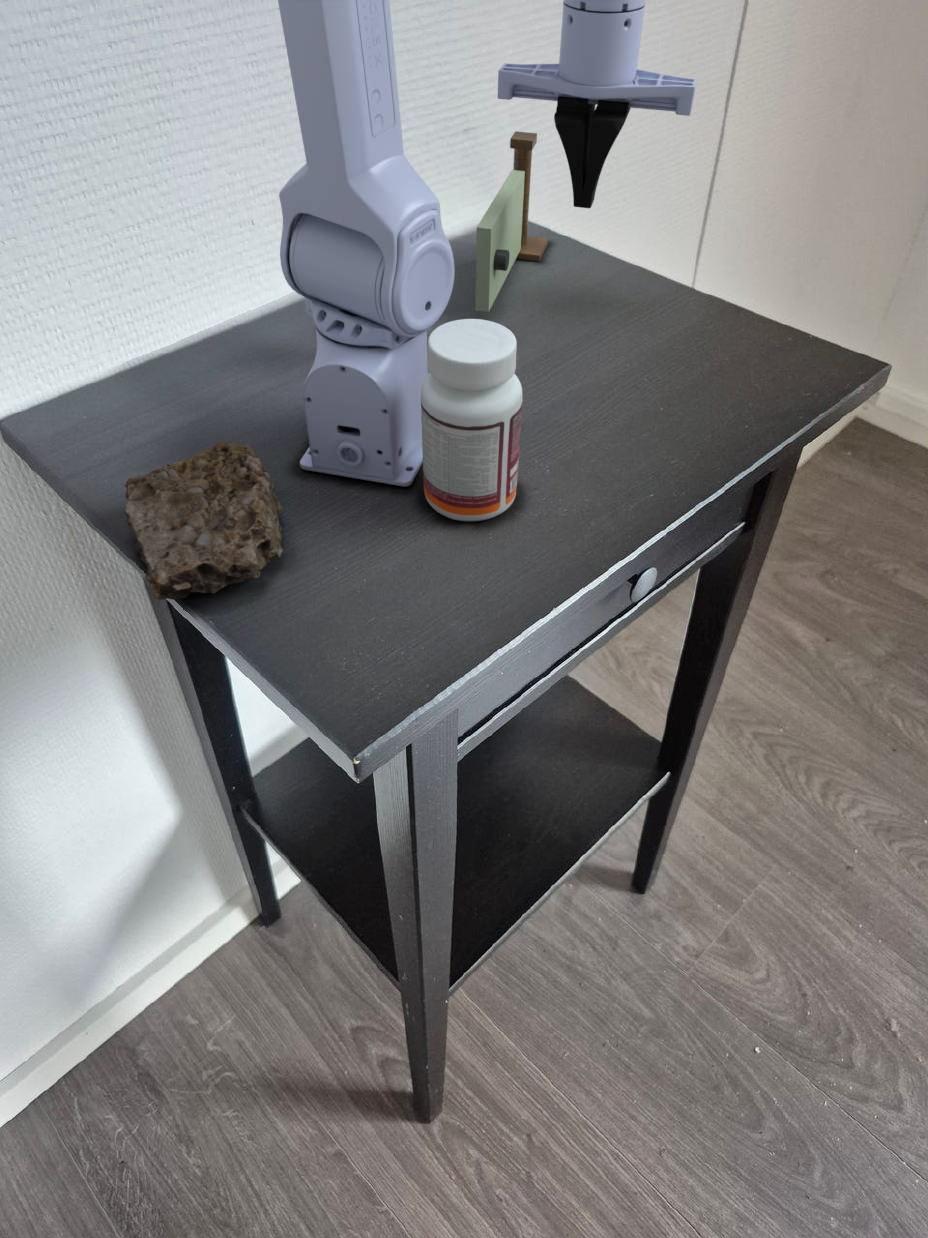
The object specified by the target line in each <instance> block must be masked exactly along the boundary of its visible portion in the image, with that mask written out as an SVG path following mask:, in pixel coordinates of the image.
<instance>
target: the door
mask: <svg viewBox="0 0 928 1238" xmlns="http://www.w3.org/2000/svg"><path fill="white" fill-rule="evenodd" d="M524 178H525V171H518V170H513V169H512V170H511V171H510V172H509V174H508V175H507V177H506V179H505V180H504V182H503V184H502V185H501V187H500V189H499V190H498V192H497V194H496V195H495V197H494V199H493V200H492V201H491V203H490V205H489V206H488V208H487V210H486V211H485V212H484V215H483V216H482V218H481V219H480V221H479V223H478V224H477V226H476V245H475V247H476V249H475V251H476V252H475V302H474V303H475V306H474V310H475V311H477V312H485V313H489V312H490V311H491V308H492V307H493V305H494V303H495V300H496V299H497V297H498V295H499V293H500V291H501V289H502V287H503V286H504V283H505V281H506V279H507V277H508V275H509V274H510V271H511V270H512V267H513V265H514V263H515V262H516V260H517V259H516V258H517V256H518V254H519V252H520V250H521V235H522V216H523V197H524Z"/></svg>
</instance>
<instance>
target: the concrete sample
mask: <svg viewBox="0 0 928 1238" xmlns="http://www.w3.org/2000/svg"><path fill="white" fill-rule="evenodd" d="M269 470H270V469H269V467H267V466H266V465H263V462H262V460H261V459H260V458H259V455H258V453H257V452H256V451H254V448H252V447H251V446H249V445H246V444H236V443H234V442H231V441H229V442H227V443H226V442H225V441H223V440H222V441H218V442H217V443H216V444H214V445H213V447H212V449H209V450H207V449H203V450H201V451H200V452H198V453H197V454H196V455H192V456H191V457H188V458H187V459H185V460H177V461H174V462H173V463H172V464H166V465H163V466H162V467H161V468H158V469H155V470H151V471H150V472H148V473H147V474H143V475H142V474H136V475H134V476H131V477H130V478H128V479H127V480H126V482H125V484H124V487H125V488H126V490H125V498H126V503H125V507H124V513H123V514H124V515H125V516H126V519H127V525H128V527H129V533H130V534H131V535H132V537H133V538H134V539H135V545H134V549H135V550H136V551H138V552H139V553H140V560H141V561H142V562H143V563H145V564H146V566H147V567H146V568H147V572H146V574H145V576H144V579H145V581H146V582H147V583H148V584H149V586H150V588H151V590H152V593H153V598H154V599H155V600H166V599H169V600H179V599H183V598H186V597H187V596H188V595H189V594H190V593H203V594H206V593H207V594H208V593H211V594H216V593H217V592H219V590H221V589H222V588H224V587H227V586H231V585H235V584H240V583H242V582H244V581H246V580H255V579H258V578H260V575H261V571H262V570H264V569H265V568H266V567H267V565H268V564H269V563H270V562H271V560H272V559H273V558H281V556H282V554H283V551H284V550H283V547H282V539H283V533H282V531H283V529H284V528H283V526H282V525H281V524H280V521H281V513H282V511H283V506H282V505H281V503H280V501H279V499H278V497H277V495H276V492H275V489H276V487H275V484H274V482H272V478H271V476H270V475H271V474H270V471H269Z"/></svg>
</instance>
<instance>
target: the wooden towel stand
mask: <svg viewBox="0 0 928 1238" xmlns="http://www.w3.org/2000/svg"><path fill="white" fill-rule="evenodd" d="M537 140H538V133H536V132H528V131H527V132H526V131H518V130H517V131H514V132H513V134H512V135H511V137H510V139H509V149H513V166H512V167H513V168H512V170H518V171H525V178H524V197H523V216H522V235H521V250H520V252H519V254H518V256H517V258H516V260H523V261H531V262H532V261H534V262H540V261H541V260H542V257H543V254H544V253H545V251H546V248H547V247H548V244H549V243H548V242H549V239H548V237H541V236H532V235H528V230H529V229H528V226H529V212H530V210H529V209H530V193H531V178H532V177H531V176H532V175H531V174H532V160H533V159H532V158H533V149H534V148H535V146H536V144H537V142H538V141H537Z"/></svg>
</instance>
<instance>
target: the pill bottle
mask: <svg viewBox="0 0 928 1238" xmlns="http://www.w3.org/2000/svg"><path fill="white" fill-rule="evenodd" d="M517 349H518V343H517V338H516V336H515V334H514V333H513V332H512V331H511V330H510V329H509V328H507V327H506V326H504V325H503V324H500V323H497V322H495V321H491V320H486V319H481V318H462V319H455V320H451V321H448V322H445V323H443V324H441V325H439V326H438V327H436V328H435V329H433V331H431V333H430V334H429V336H428V338H427V357H428V374H427V376H426V377H425V379H424V381H423V384H422V387H421V420H422V449H423V450H422V452H423V462H422V475H423V477H422V478H423V491H424V496H425V499H426V501H427V503H428V504H429V506H430V507H431V508H432V509H433V510H434V511H435V512H437V513H439V514H440V515H442V516H444V517H446V518H448V519H451V520H455V521H459V522H480V521H485V520H489V519H490V520H491V519H493V518H496V517H498V516H500V515H501V514H503V513H504V512H506V511H507V510H508V509H509V508H510V507H511V506H512V505H513V503H514V501H515V499H516V495H517V486H518V475H519V474H518V473H519V461H520V460H519V459H520V446H521V445H520V444H521V426H522V414H523V413H522V410H523V401H524V399H523V386H522V383H521V381H520V379H519V377H518V376H517V375H516V368H517Z"/></svg>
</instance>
